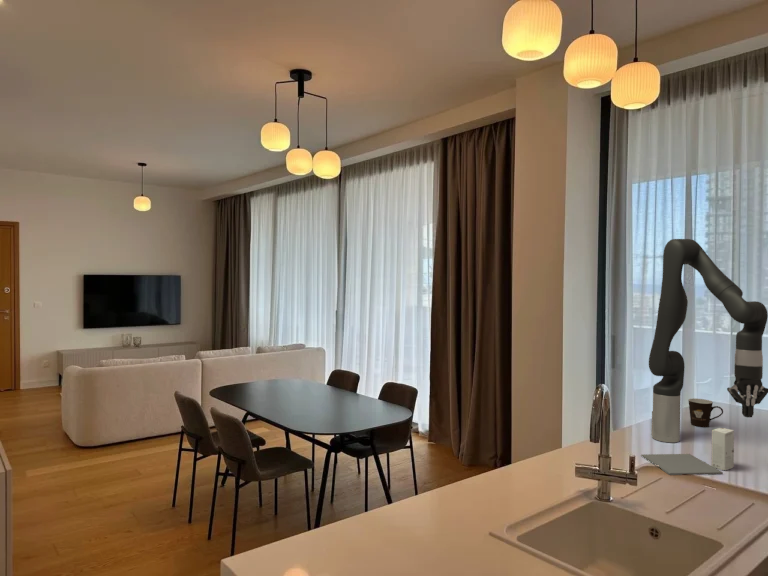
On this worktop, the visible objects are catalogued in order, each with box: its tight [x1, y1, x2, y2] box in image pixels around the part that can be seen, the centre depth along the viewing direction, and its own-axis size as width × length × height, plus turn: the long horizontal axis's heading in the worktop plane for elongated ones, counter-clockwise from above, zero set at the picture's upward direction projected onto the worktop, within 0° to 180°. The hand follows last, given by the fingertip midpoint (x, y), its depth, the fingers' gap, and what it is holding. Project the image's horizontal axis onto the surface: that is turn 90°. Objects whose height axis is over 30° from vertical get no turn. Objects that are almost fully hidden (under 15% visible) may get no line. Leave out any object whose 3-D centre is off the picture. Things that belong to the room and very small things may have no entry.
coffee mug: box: [688, 397, 724, 428], centre depth 221 cm, size 12×9×10 cm
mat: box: [640, 453, 723, 476], centre depth 178 cm, size 17×17×1 cm
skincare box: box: [711, 427, 735, 471], centre depth 175 cm, size 6×4×12 cm
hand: (747, 416), depth 175 cm, fingers closed
